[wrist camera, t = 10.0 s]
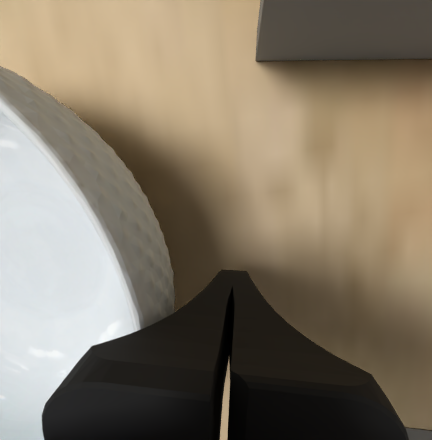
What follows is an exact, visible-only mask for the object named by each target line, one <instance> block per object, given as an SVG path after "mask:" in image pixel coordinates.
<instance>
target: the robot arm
mask: <svg viewBox="0 0 432 440" xmlns="http://www.w3.org/2000/svg"><path fill="white" fill-rule="evenodd" d="M229 358H230V399H229V420H228V440H409V438H408V434H407V431H406V429H405V427H404V425H403V423H402V422H401V420H400V418H399V417H398V415H397V413H396V412H395V410H394V408H393V406H392V405H391V403H390V401H389V400H388V398H387V397H386V395H385V394H384V392H383V391H382V389H381V388H380V386H379V385H378V384H377V382H376V381H375V379H374V378H373V376H372V375H371V374H369V373H367V372H365V371H363V370H361V369H359V368H358V367H356V366H354V365H352V364H350V363H348V362H346V361H344V360H342V359H340V358H338V357H336V356H335V355H333V354H331V353H330V352H328V351H326V350H325V349H323V348H322V347H320V346H318V345H317V344H315V343H314V342H312V341H311V340H309V339H308V338H306V337H305V336H304V335H302V334H301V333H300V332H298V331H297V330H296V329H294V328H293V327H292V326H291V325H290V324H288V323H287V322H286V321H285V320H284V319H283V318H282V317H281V316H280V315H279V314H277V313H276V312H275V311H274V310H273V308H272V307H271V306H270V305H269V304H268V303H267V301H266V300H265V299H264V298H263V296H262V295H261V293H260V292H259V291H258V289H257V288H256V286H255V285H254V283H253V282H252V280H251V278H250V276H249V274H248V273H247V272H246V271H233V270H221V271H220V272H219V273H218V274H217V276H216V277H215V278H214V279H213V280H212V281H211V282H210V284H209V285H208V286H207V287H206V288H205V289H204V290H203V291H202V292H201V293H199V294H198V295H197V296H196V297H195V298H194V299H193V300H192V301H190V302H189V303H188V304H186V305H185V306H184V307H182V308H181V309H179V310H178V311H176V312H174V313H173V314H171V315H169V316H167V317H165V318H164V319H162V320H160V321H158V322H156V323H154V324H152V325H150V326H148V327H145V328H143V329H141V330H138V331H136V332H133V333H131V334H128V335H125V336H122V337H119V338H116V339H113V340H110V341H107V342H103V343H100V344H97V345H93V346H91V347H90V349H89V350H88V351H87V352H86V353H85V354H84V355H83V356H82V358H81V359H80V360H79V361H78V362H77V364H76V365H75V366H74V367H73V369H72V370H71V371H70V373H69V374H68V375H67V376H66V378H65V379H64V380H63V382H62V383H61V384H60V385H59V387H58V388H57V389H56V390H55V392H54V393H53V394H52V396H51V397H50V398H49V399H48V401H47V402H46V403H45V406H44V409H43V413H42V431H43V436H44V440H220V426H221V413H222V400H223V391H224V383H225V377H226V371H227V365H228V359H229Z"/></svg>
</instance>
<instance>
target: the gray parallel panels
mask: <svg viewBox="0 0 432 440" xmlns="http://www.w3.org/2000/svg"><path fill="white" fill-rule="evenodd" d="M367 59H432V0H261V2H260V10H259V19H258V28H257V46H256V61H290V60H367ZM405 429H406V431H407V434H408V438H409V440H432V431H428V430H420V429H412V428H405Z"/></svg>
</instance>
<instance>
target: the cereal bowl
mask: <svg viewBox="0 0 432 440" xmlns="http://www.w3.org/2000/svg"><path fill="white" fill-rule="evenodd" d="M173 274H174V273H173V270H172V268H171V263H170V257H169V251H168V248H167V246H166V244H165V241H164V235H163V233H162V231H161V230H160V226H159V222H158V220H157V219H156V217H155V215H154V212H153V210H152V208H151V206H150V205H149V202H148V198H147V196H146V195H145V194H144V193H143V192H142V190H141V187H140V185H139V184H138V183H137V182H136V180H135V179H134V176H133V174H132V172H131V171H130V170H129V169H128V168H127V167H126V166H125V164H124V162H123V161H122V160H121V159H120V158H119V157H118V156H117V155H116V153H115V151H114V149H113V148H111V147H110V146H109V145H108V144H106V142H105V141H104V140H102V139H101V137H100V136H99V134H98V133H97V132H96V131H94V130H93V129H92V128H91V127H90V126H89V125H87V124H86V123H85V122H83V121H82V120H81V119H80V118H79V117H78V116H77V115H76V114H75V113H74V112H73V111H72V110H71V109H69V108H67V107H65V106H64V105H63V104H62V103H60V102H58V101H57V100H56V99H55V98H54V97H53V96H51V95H50V94H48V93H46V92H44V91H43V90H41V89H39V88H38V87H36V86H34V85H33V84H32V83H30V82H29V81H28V80H27V79H25V78H24V77H22V76H19V75H18V74H16V73H15V72H13V71H10V70H8V69H6V68H3V67H1V66H0V440H44V436H43V431H42V413H43V409H44V406H45V403H46V402H47V401H48V399H49V398H50V397H51V396H52V394H53V393H54V392H55V390H56V389H57V388H58V387H59V385H60V384H61V383H62V382H63V380H64V379H65V378H66V376H67V375H68V374H69V373H70V371H71V370H72V369H73V367H74V366H75V365H76V364H77V362H78V361H79V360H80V359H81V358H82V356H83V355H84V354H85V353H86V352H87V351H88V350H89V349H90V347H91V346H93V345H97V344H100V343H103V342H107V341H110V340H113V339H116V338H119V337H122V336H125V335H128V334H131V333H133V332H136V331H138V330H141V329H143V328H145V327H148V326H150V325H152V324H154V323H156V322H158V321H160V320H162V319H164V318H165V317H167V316H169V315H171V314H173V313H174V312H175V309H174V302H175V290H174V285H173Z"/></svg>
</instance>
